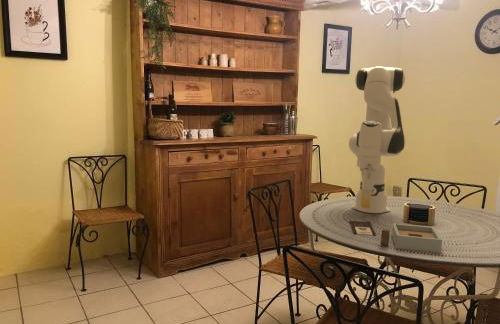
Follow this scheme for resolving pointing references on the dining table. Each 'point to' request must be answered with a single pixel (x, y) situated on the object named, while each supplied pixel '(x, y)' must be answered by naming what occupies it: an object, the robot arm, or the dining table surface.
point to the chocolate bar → (362, 228)
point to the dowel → (365, 200)
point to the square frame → (416, 238)
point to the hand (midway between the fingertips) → (366, 196)
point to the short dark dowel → (385, 237)
